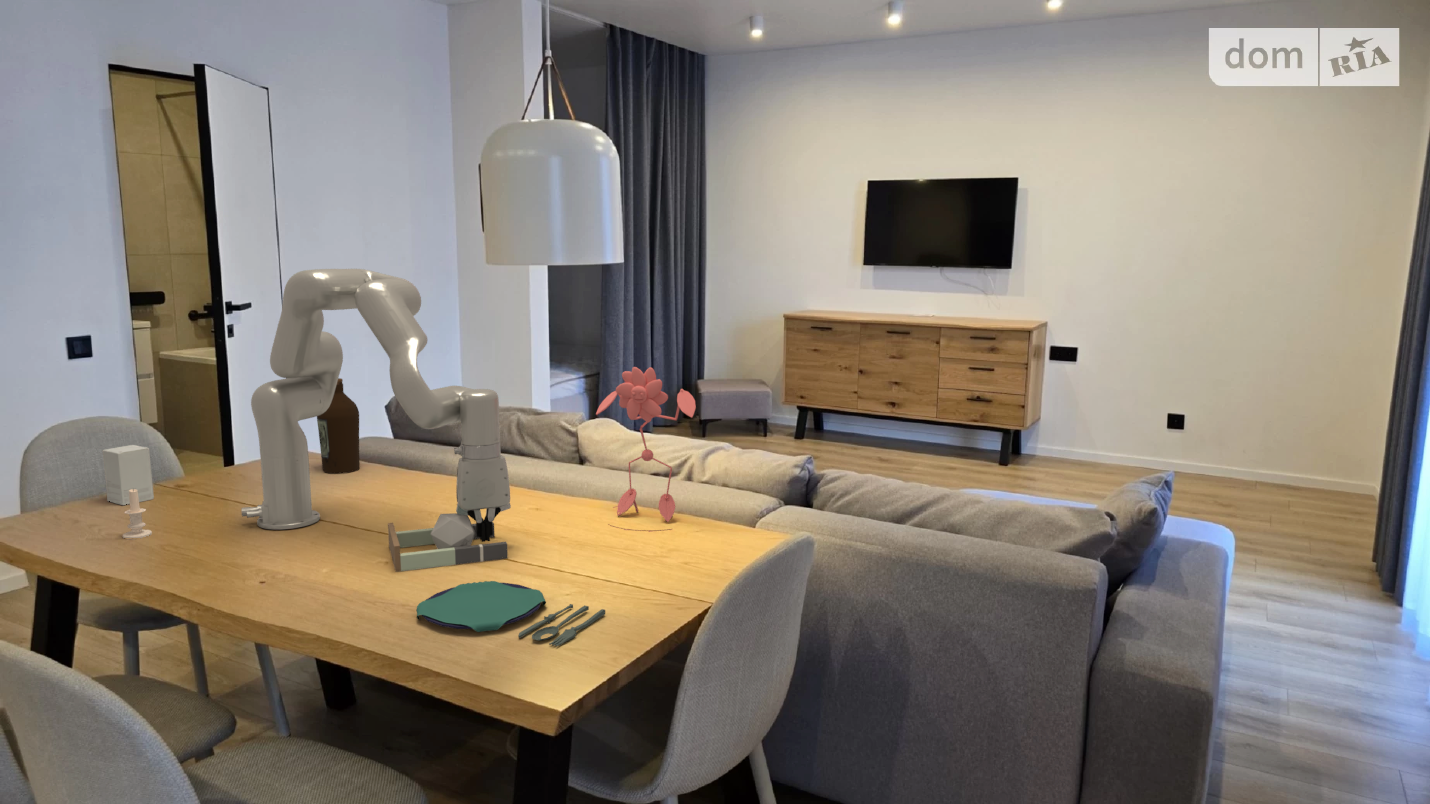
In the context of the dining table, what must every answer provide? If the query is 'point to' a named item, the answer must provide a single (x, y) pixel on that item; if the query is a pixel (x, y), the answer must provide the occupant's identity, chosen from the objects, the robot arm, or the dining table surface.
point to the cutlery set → (495, 609)
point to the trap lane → (438, 550)
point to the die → (453, 531)
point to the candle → (135, 517)
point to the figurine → (644, 400)
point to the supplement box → (127, 473)
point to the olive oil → (339, 434)
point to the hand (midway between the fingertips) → (484, 539)
